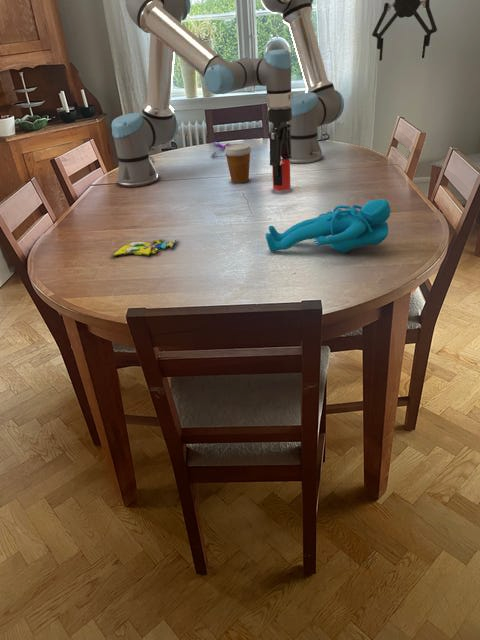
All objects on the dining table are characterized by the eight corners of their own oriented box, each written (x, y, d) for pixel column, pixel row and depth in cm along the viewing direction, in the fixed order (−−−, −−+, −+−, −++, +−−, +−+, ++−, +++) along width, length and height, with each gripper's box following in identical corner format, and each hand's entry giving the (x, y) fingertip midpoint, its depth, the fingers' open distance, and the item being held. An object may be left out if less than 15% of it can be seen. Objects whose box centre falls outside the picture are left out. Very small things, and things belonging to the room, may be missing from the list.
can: (272, 190, 159) (271, 164, 154) (273, 185, 164) (272, 159, 159) (290, 189, 158) (290, 163, 154) (290, 184, 163) (290, 158, 159)
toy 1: (167, 253, 124) (112, 254, 126) (167, 256, 124) (112, 257, 126) (176, 237, 132) (124, 238, 134) (176, 240, 133) (125, 241, 135)
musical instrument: (233, 161, 200) (257, 143, 213) (232, 156, 199) (256, 138, 211) (189, 161, 213) (214, 143, 225) (188, 156, 212) (212, 139, 224)
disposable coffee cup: (222, 184, 172) (219, 149, 166) (233, 176, 180) (230, 142, 173) (247, 185, 169) (245, 150, 163) (256, 177, 176) (254, 143, 170)
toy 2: (270, 213, 128) (386, 185, 117) (281, 248, 133) (393, 225, 122) (259, 239, 114) (389, 210, 104) (272, 277, 119) (397, 254, 109)
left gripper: (280, 113, 139) (282, 191, 152) (300, 101, 153) (301, 174, 166) (256, 113, 142) (260, 190, 154) (278, 101, 156) (280, 173, 169)
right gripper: (366, -14, 151) (362, 62, 163) (452, -23, 144) (441, 57, 156) (368, -14, 157) (364, 59, 168) (450, -22, 150) (440, 55, 162)
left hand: (281, 181), depth 160 cm, fingers open, 6 cm apart
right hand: (401, 59), depth 162 cm, fingers open, 13 cm apart
